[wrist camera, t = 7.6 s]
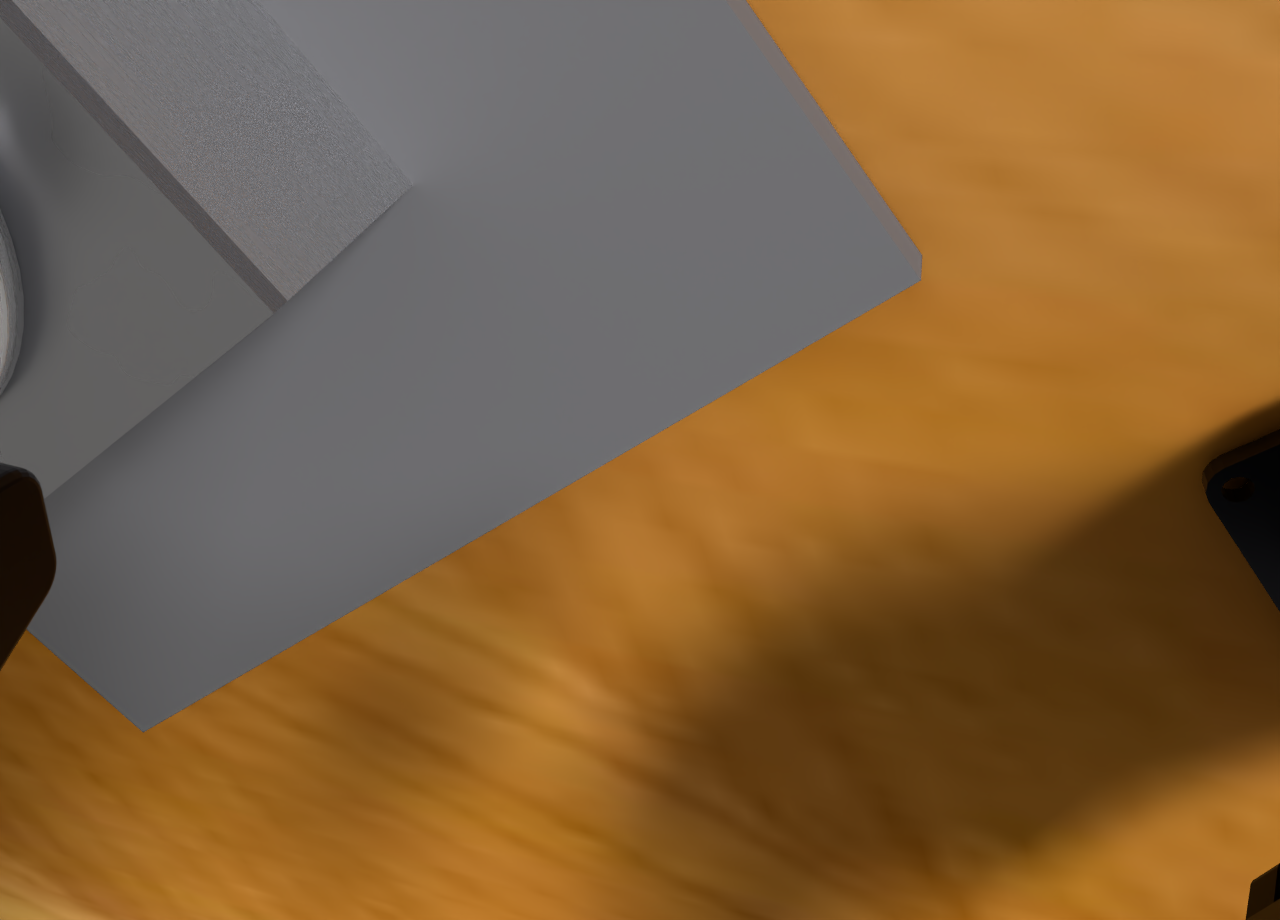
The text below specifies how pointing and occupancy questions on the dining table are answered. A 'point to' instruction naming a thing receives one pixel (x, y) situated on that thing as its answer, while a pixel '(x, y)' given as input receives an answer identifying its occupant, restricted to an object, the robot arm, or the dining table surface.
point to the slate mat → (471, 322)
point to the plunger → (9, 306)
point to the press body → (159, 203)
